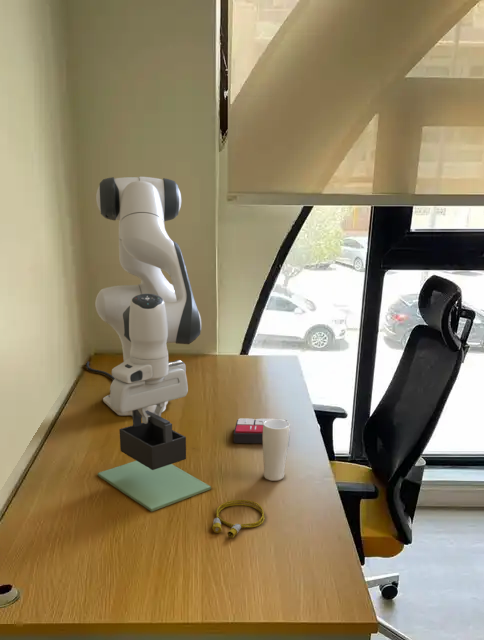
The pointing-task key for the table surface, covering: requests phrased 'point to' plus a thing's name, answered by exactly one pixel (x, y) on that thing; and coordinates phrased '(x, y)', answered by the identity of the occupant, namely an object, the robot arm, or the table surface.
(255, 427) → the calculator
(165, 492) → the desk mat
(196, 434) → the table surface
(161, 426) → the caddy bin
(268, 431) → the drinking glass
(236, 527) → the extension cord
